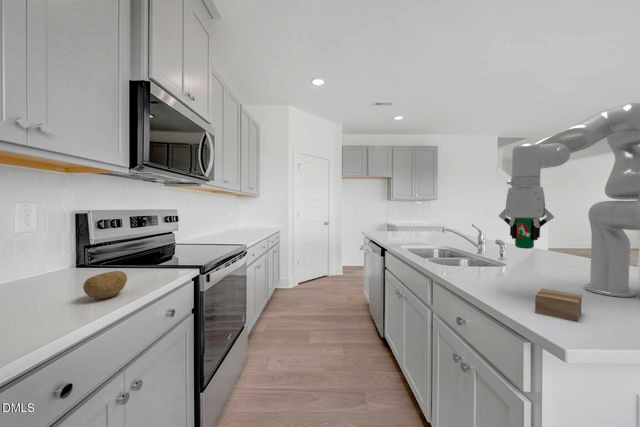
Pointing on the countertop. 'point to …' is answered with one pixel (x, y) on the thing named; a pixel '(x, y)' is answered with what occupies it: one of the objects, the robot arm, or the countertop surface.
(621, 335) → the countertop surface
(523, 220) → the soda can
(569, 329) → the countertop surface
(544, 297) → the walnut block
